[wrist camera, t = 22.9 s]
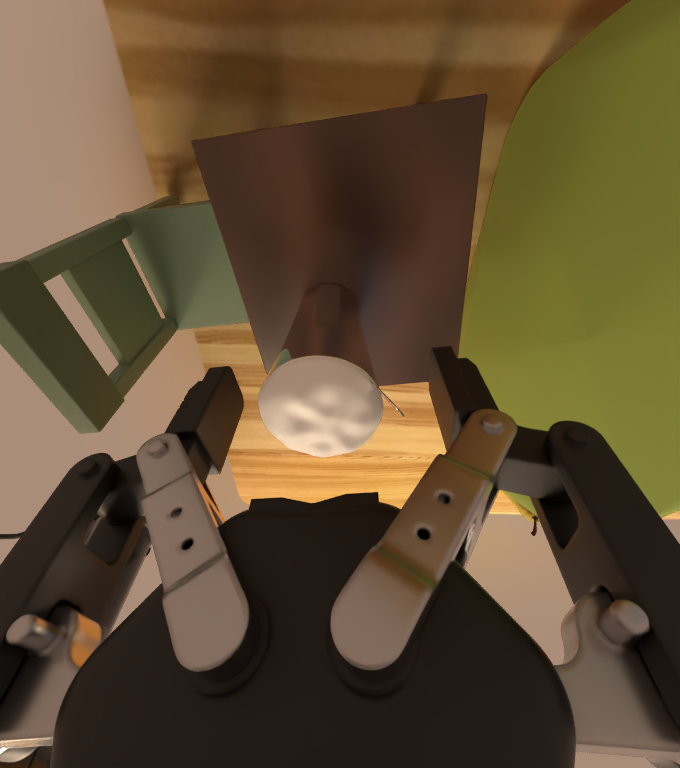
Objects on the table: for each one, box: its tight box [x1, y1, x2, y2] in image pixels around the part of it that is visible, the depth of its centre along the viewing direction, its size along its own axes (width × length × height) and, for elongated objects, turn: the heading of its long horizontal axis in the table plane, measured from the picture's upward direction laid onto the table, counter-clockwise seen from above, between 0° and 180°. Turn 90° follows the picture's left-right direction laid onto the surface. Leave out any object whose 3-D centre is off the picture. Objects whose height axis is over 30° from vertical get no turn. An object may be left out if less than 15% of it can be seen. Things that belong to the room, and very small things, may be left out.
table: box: [191, 94, 487, 386], centre depth 22 cm, size 12×14×12 cm
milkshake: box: [258, 284, 404, 457], centre depth 15 cm, size 5×5×10 cm
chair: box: [0, 195, 250, 433], centre depth 21 cm, size 8×8×17 cm
